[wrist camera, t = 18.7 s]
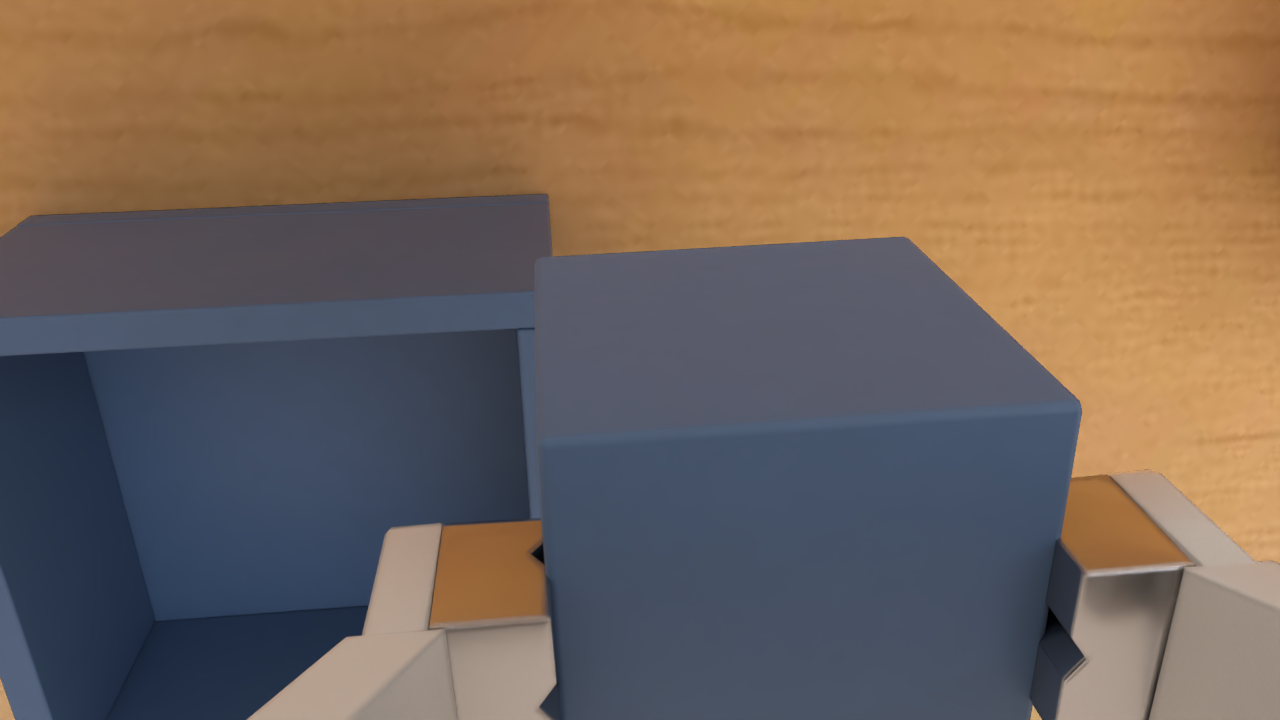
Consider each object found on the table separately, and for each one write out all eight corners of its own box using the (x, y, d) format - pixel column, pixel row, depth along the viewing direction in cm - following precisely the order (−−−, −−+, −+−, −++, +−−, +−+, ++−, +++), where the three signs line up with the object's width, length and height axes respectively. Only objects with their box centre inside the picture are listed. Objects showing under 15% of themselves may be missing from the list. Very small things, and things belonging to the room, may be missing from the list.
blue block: (533, 255, 12) (534, 441, 8) (908, 233, 12) (1088, 402, 8) (556, 570, 14) (566, 850, 10) (882, 545, 14) (1020, 805, 10)
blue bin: (29, 215, 25) (-128, 324, 19) (548, 192, 26) (555, 290, 20) (142, 626, 31) (47, 815, 25) (570, 594, 32) (580, 767, 26)
